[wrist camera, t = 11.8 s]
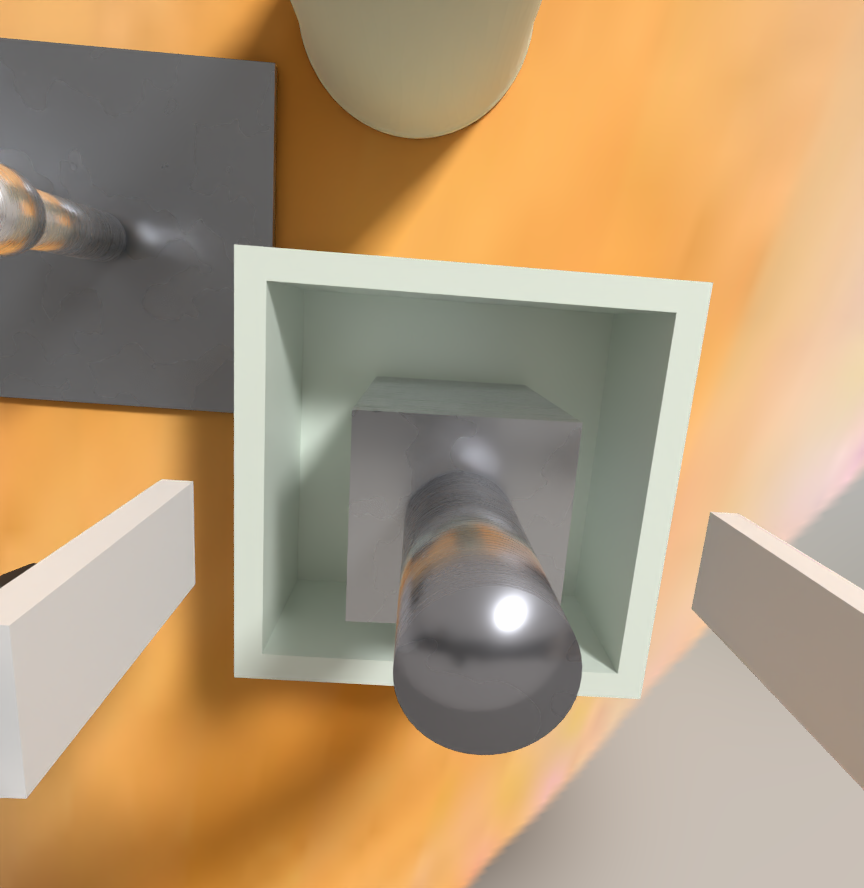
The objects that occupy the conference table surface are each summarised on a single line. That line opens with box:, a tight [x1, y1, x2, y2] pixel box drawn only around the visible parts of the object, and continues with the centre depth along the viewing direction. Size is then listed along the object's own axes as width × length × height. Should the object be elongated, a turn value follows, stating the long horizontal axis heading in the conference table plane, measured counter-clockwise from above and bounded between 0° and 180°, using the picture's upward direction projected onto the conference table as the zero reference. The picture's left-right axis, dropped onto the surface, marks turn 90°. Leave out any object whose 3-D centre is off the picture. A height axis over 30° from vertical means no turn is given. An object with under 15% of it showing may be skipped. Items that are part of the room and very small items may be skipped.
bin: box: [234, 244, 713, 699], centre depth 23 cm, size 15×15×7 cm
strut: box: [345, 376, 583, 755], centre depth 17 cm, size 6×6×16 cm
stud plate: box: [0, 38, 277, 413], centre depth 20 cm, size 14×14×8 cm
